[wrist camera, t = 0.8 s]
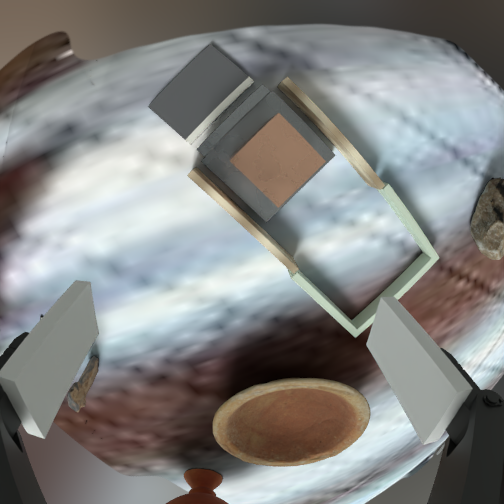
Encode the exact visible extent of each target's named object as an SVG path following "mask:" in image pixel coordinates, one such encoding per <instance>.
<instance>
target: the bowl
mask: <svg viewBox="0 0 504 504" xmlns="http://www.w3.org/2000/svg"><path fill="white" fill-rule="evenodd" d="M369 419H370V407H369V404H368V402H367V400H366V398H365V397H364V396H363V395H362V394H361V393H360V392H359V391H357V390H356V389H354V388H353V387H350V386H348V385H346V384H343V383H340V382H337V381H332V380H326V379H318V378H284V379H280V380H275V381H271V382H268V383H265V384H257V385H254V386H252V387H250V388H247V389H245V390H243V391H241V392H239V393H237V394H235V395H234V396H233V397H231V398H230V399H229V400H227V401H226V402H225V403H223V404H222V405H221V406H220V407H219V409H218V410H217V412H216V413H215V416H214V419H213V434H214V437H215V439H216V441H217V443H218V444H219V445H220V446H221V447H222V448H223V449H224V450H225V451H227V452H228V453H230V454H231V455H233V456H235V457H237V458H239V459H241V460H242V461H245V462H248V463H253V464H257V465H266V466H298V465H305V464H309V463H314V462H317V461H321V460H324V459H326V458H329V457H333V456H335V455H337V454H339V453H340V452H342V451H343V450H345V449H346V448H348V447H349V446H350V445H352V444H353V443H354V442H355V441H356V440H357V439H358V438H359V437H360V436H361V435H362V434H363V432H364V431H365V429H366V427H367V425H368V422H369Z"/></svg>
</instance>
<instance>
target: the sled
mask: <svg viewBox="0 0 504 504" xmlns="http://www.w3.org/2000/svg"><path fill="white" fill-rule="evenodd" d="M269 92H270V91H269V90H268V89H267V88H266V87H265V86H264V85H263V84H262V85H261V86H260V87H259V88H258V89H257V90H256V91H255V92H254V93H253V94H251V95H250V96H249V97H248V98H247V99H246V100H245V101H244V102H243V103H242V104H241V105H240V106H239V107H238V108H237V109H236V110H235V111H234V112H233V113H232V114H231V115H230V116H229V117H228V118H227V119H226V120H225V121H224V122H223V123H222V124H221V125H220V126H219V127H218V128H217V129H216V130H215V131H214V132H213V133H212V134H211V135H210V136H209V137H208V138H207V139H206V140H205V141H204V142H203V143H202V144H201V145H200V146H199V147H198V148H197V150H198V151H199V152H200V153H201V154H202V155H203V156H206V155H207V156H206V157H205V158H204V159H203V160H202V161H201V162H202V163H203V164H204V165H205V166H206V167H208V168H209V169H210V170H211V171H212V172H213V173H214V174H215V175H216V176H217V177H218V178H219V179H221V180H222V181H223V182H224V183H225V184H226V185H227V186H228V187H229V188H230V189H231V190H232V191H233V192H235V193H236V194H237V195H238V196H239V197H240V198H241V199H242V200H243V201H244V202H245V203H246V204H247V205H248V206H249V207H250V208H252V209H253V210H254V211H255V212H256V213H257V214H258V215H259V216H260V217H261V218H262V219H263V220H264V221H265V222H266V223H267V222H268V221H269V220H270V219H271V218H272V217H273V216H274V215H275V214H276V213H277V212H278V211H279V210H280V209H281V208H282V207H283V206H284V205H285V204H286V203H287V202H288V201H289V200H290V199H291V198H292V197H293V196H294V195H295V194H296V193H297V192H298V191H299V190H300V189H301V188H302V187H303V186H304V185H305V184H306V183H307V182H308V181H309V180H310V179H312V178H313V177H314V176H315V175H316V174H317V173H318V172H319V171H320V170H321V169H322V168H323V167H324V166H325V165H326V164H327V163H328V162H329V161H330V160H331V159H332V158H333V157H334V156H335V154H334V153H333V152H332V151H331V150H330V149H329V148H328V146H327V145H326V144H325V143H324V142H323V141H322V140H321V139H320V138H319V137H318V136H317V135H316V134H315V132H314V131H313V130H312V129H311V128H310V127H309V126H308V125H307V124H306V123H305V122H304V121H303V120H302V119H301V118H300V117H299V116H298V115H297V114H296V113H295V112H294V111H293V110H292V109H291V108H290V107H289V106H288V105H287V104H286V103H285V102H284V101H283V100H282V99H281V98H280V97H279V96H278V95H277V94H276V93H275V92H274V91H272V92H271V93H269ZM268 93H269V94H268Z"/></svg>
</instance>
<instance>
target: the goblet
mask: <svg viewBox="0 0 504 504" xmlns="http://www.w3.org/2000/svg"><path fill="white" fill-rule="evenodd" d="M184 478H185V480H186V482H187V483H188V484H189V485H190V487H191V488H192V489H191V490H190V491H189V494H185V495H182V496H179V497H177V498H175V499H173V500H171V501H169V502H168V503H166V504H228V503H227V502H225V501H224V500H222V499H220V498H218V497H216V494H215V492H214V491H213V490H214V489H215V488H216V487H218V486H219V485H220V484H221V482H222V479H223V478H222V476H221V475H220V474H218V473H216V472H215V471H212V470H208V469H191V470H187V471H186V472H185V473H184Z"/></svg>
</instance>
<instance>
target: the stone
mask: <svg viewBox="0 0 504 504" xmlns="http://www.w3.org/2000/svg"><path fill="white" fill-rule="evenodd" d="M470 228H471V229H470V231H471V235H472V238H473V239H474V241H475V243H476V245H477V247H478V249H479V251H481V253H482V254H484V255H485V256H487V257H488V258H490V259H492V260H493V259H494V260H500V259H501V258H502V256H503V255H504V179H501V178H497V179H494V178H492V179H491V180H490V181H489V182H488V183H487V185H486V187H485V190H484V192H483V193H482V195H481V196H480V199H479V201H478V204H477V207H476V211H475V213H474V214H473V217H472V221H471V225H470Z"/></svg>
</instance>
